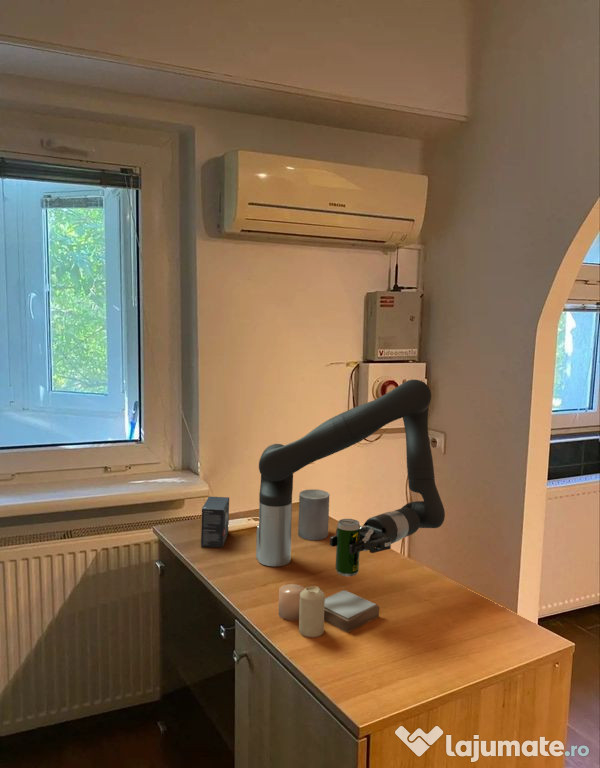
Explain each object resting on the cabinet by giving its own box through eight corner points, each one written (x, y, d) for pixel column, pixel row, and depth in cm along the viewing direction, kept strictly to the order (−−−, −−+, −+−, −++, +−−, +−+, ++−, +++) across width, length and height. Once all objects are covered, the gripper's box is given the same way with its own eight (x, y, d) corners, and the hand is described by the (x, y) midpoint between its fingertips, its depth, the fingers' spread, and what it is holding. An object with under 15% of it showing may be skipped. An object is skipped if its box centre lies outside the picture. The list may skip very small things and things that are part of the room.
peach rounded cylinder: (273, 613, 144) (273, 589, 143) (291, 605, 148) (292, 581, 147) (290, 623, 139) (291, 598, 139) (309, 614, 144) (310, 590, 143)
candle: (315, 640, 132) (317, 596, 131) (294, 632, 135) (295, 589, 134) (328, 629, 137) (329, 587, 136) (307, 622, 140) (308, 580, 139)
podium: (312, 614, 144) (312, 602, 143) (343, 600, 151) (344, 588, 151) (347, 632, 136) (348, 619, 136) (378, 616, 144) (379, 604, 143)
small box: (223, 548, 183) (223, 509, 182) (200, 547, 183) (200, 508, 182) (229, 532, 196) (229, 496, 195) (207, 532, 196) (208, 495, 195)
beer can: (333, 574, 141) (334, 524, 139) (338, 565, 146) (340, 517, 144) (356, 578, 139) (357, 527, 138) (360, 569, 144) (362, 520, 143)
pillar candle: (296, 529, 200) (297, 485, 198) (326, 529, 201) (327, 485, 199) (299, 541, 190) (300, 494, 189) (330, 540, 191) (332, 494, 190)
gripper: (364, 507, 156) (318, 521, 144) (411, 521, 146) (365, 538, 134) (363, 535, 157) (317, 552, 145) (409, 551, 147) (364, 571, 135)
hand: (340, 545), depth 140 cm, fingers closed on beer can, 5 cm apart
